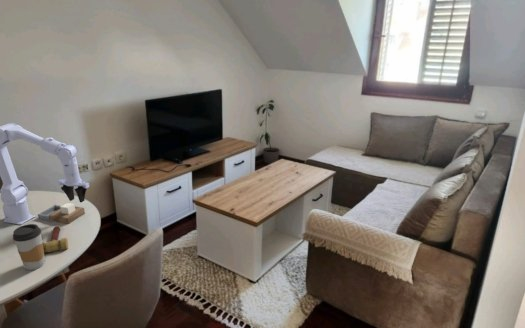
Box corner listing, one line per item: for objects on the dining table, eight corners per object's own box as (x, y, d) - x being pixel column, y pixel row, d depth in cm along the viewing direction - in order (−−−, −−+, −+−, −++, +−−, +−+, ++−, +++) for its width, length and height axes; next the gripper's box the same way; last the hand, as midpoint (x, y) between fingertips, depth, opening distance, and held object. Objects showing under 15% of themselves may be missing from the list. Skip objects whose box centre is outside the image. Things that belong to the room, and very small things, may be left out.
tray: (38, 218, 158) (37, 214, 157) (56, 208, 167) (55, 204, 166) (49, 220, 156) (48, 216, 155) (66, 210, 165) (65, 206, 164)
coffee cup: (38, 256, 131) (29, 221, 126) (53, 261, 128) (45, 226, 123) (16, 268, 124) (5, 232, 119) (32, 274, 121) (22, 238, 116)
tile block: (61, 213, 157) (60, 206, 156) (68, 209, 160) (67, 202, 159) (68, 214, 156) (67, 207, 155) (75, 210, 160) (74, 204, 158)
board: (50, 220, 156) (48, 215, 155) (67, 210, 165) (66, 205, 164) (68, 223, 154) (67, 218, 153) (84, 213, 163) (83, 207, 162)
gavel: (43, 223, 148) (69, 219, 152) (45, 233, 149) (71, 228, 153) (35, 246, 130) (65, 240, 134) (38, 257, 131) (67, 251, 135)
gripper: (92, 170, 152) (97, 198, 156) (64, 167, 155) (70, 195, 160) (80, 176, 145) (85, 205, 150) (52, 173, 149) (58, 201, 153)
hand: (77, 200), depth 155 cm, fingers open, 5 cm apart
